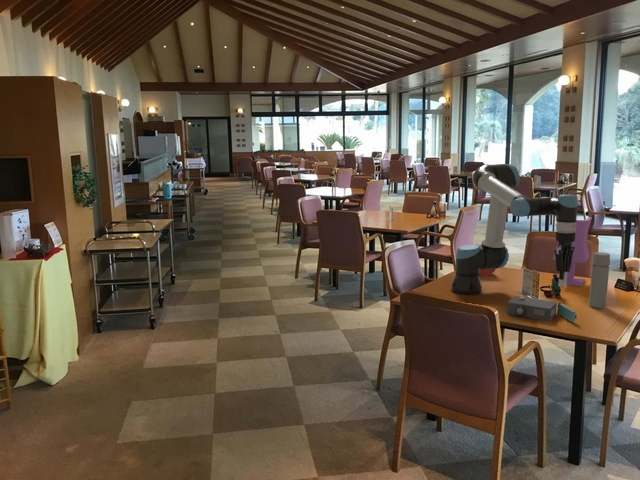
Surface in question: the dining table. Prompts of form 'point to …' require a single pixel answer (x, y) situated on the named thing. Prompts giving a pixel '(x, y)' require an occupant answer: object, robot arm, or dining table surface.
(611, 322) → the dining table surface
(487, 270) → the french fries container
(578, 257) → the purple table lamp
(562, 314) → the side door
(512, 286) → the dining table surface
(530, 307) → the block
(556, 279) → the binoculars
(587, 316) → the dining table surface
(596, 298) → the water bottle
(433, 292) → the dining table surface
